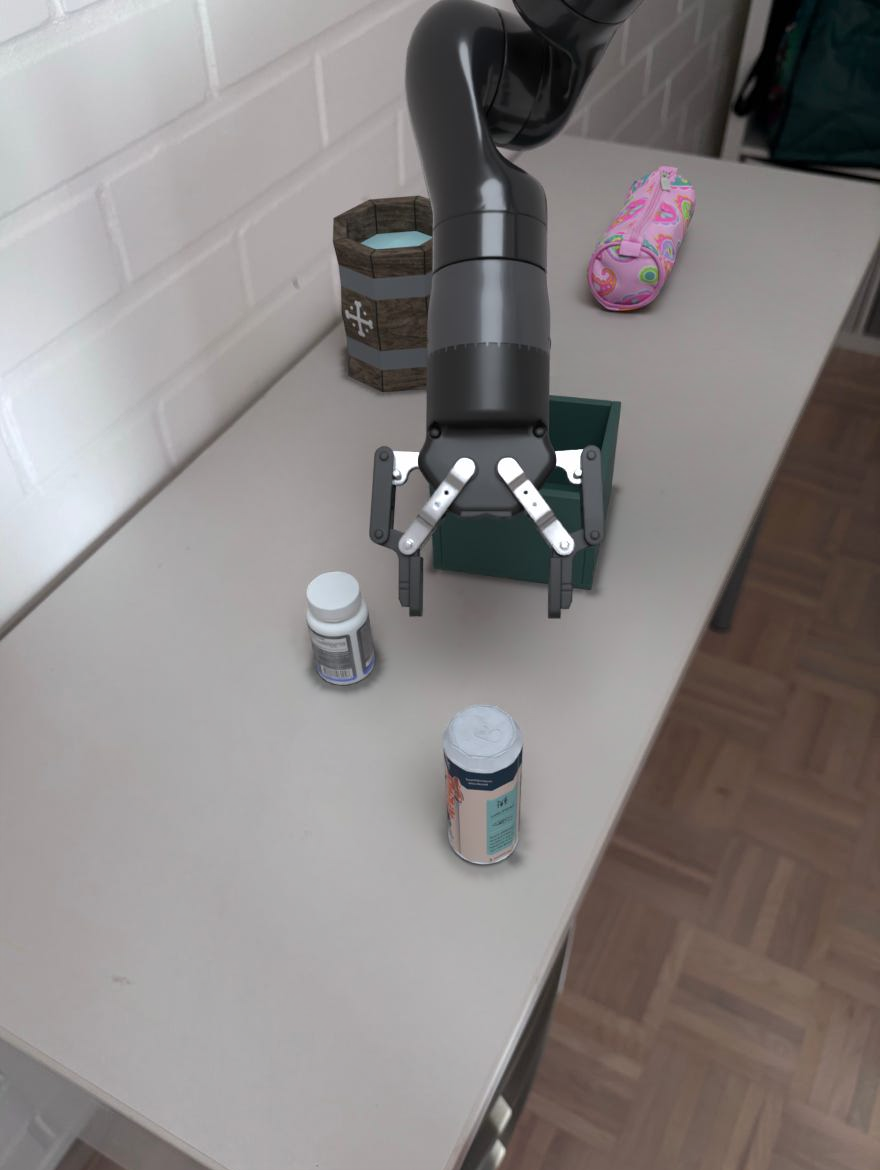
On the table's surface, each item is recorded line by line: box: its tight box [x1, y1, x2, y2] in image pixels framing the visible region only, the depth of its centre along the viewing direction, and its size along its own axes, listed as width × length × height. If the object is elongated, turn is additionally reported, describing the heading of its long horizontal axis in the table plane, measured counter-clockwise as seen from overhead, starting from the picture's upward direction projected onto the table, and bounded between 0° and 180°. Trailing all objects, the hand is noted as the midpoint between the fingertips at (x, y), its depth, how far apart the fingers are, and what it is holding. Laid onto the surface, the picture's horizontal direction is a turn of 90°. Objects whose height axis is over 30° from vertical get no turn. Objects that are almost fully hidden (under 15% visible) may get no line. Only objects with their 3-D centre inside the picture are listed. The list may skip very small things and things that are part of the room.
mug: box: [332, 195, 433, 393], centre depth 102 cm, size 20×14×15 cm
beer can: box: [442, 703, 524, 865], centre depth 62 cm, size 5×5×12 cm
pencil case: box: [586, 165, 697, 312], centre depth 114 cm, size 21×9×9 cm, turn 157°
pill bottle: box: [305, 570, 376, 686], centre depth 75 cm, size 5×5×8 cm
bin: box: [428, 394, 622, 591], centre depth 84 cm, size 14×14×10 cm
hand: (485, 617), depth 61 cm, fingers open, 8 cm apart
